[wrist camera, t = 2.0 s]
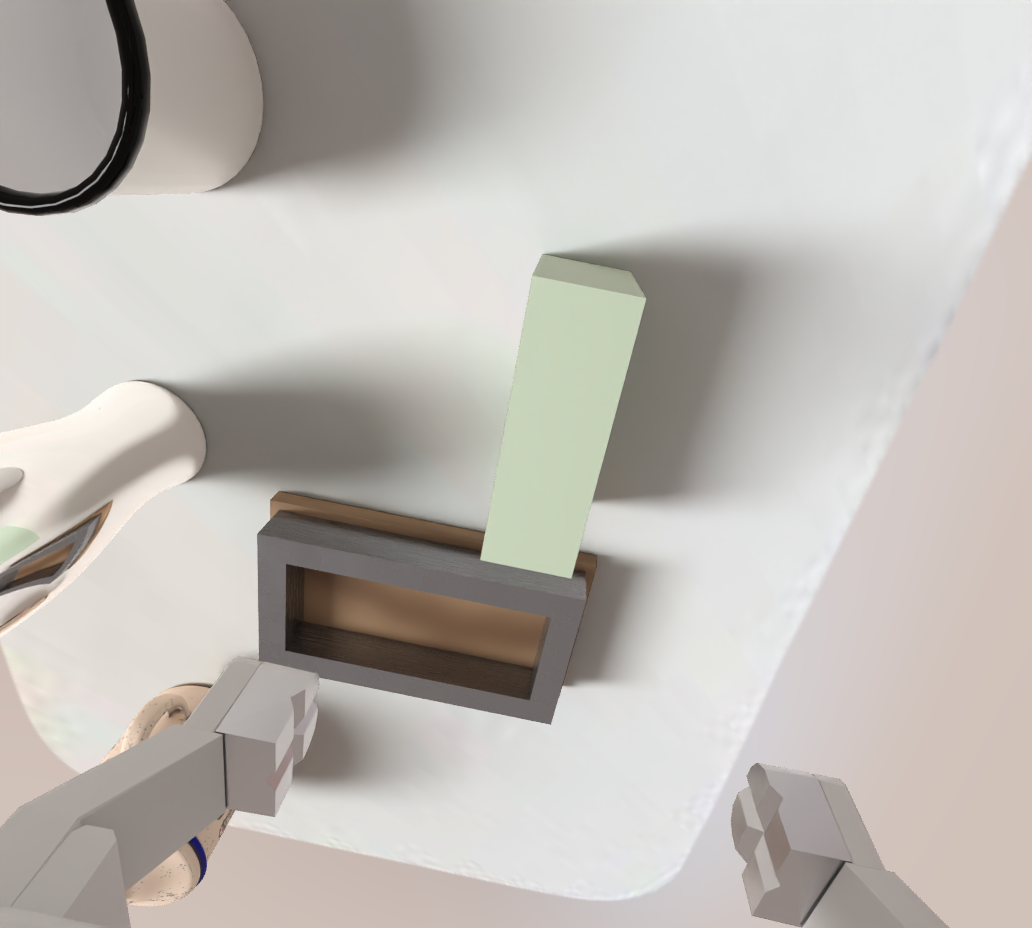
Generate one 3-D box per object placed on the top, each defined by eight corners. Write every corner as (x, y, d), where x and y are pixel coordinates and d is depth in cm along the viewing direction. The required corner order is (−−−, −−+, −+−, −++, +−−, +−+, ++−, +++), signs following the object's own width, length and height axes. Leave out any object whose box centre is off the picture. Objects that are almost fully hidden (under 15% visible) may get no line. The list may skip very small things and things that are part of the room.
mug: (301, 5, 24) (157, -89, 15) (256, 240, 28) (122, 264, 20) (-1, -135, 23) (-326, -314, 14) (-3, 130, 27) (-258, 108, 19)
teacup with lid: (275, 781, 44) (181, 969, 34) (155, 761, 44) (24, 940, 34) (267, 659, 39) (152, 835, 28) (131, 636, 39) (-33, 802, 29)
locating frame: (278, 491, 33) (247, 523, 30) (596, 555, 33) (598, 594, 30) (278, 628, 38) (250, 669, 34) (559, 686, 38) (557, 732, 34)
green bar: (542, 253, 27) (532, 275, 21) (630, 271, 27) (646, 298, 21) (499, 485, 32) (480, 560, 26) (572, 500, 32) (571, 578, 26)
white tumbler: (240, 444, 32) (-1, 632, 19) (167, 512, 35) (-94, 723, 21) (135, 344, 30) (-218, 474, 17) (65, 423, 33) (-294, 593, 19)
